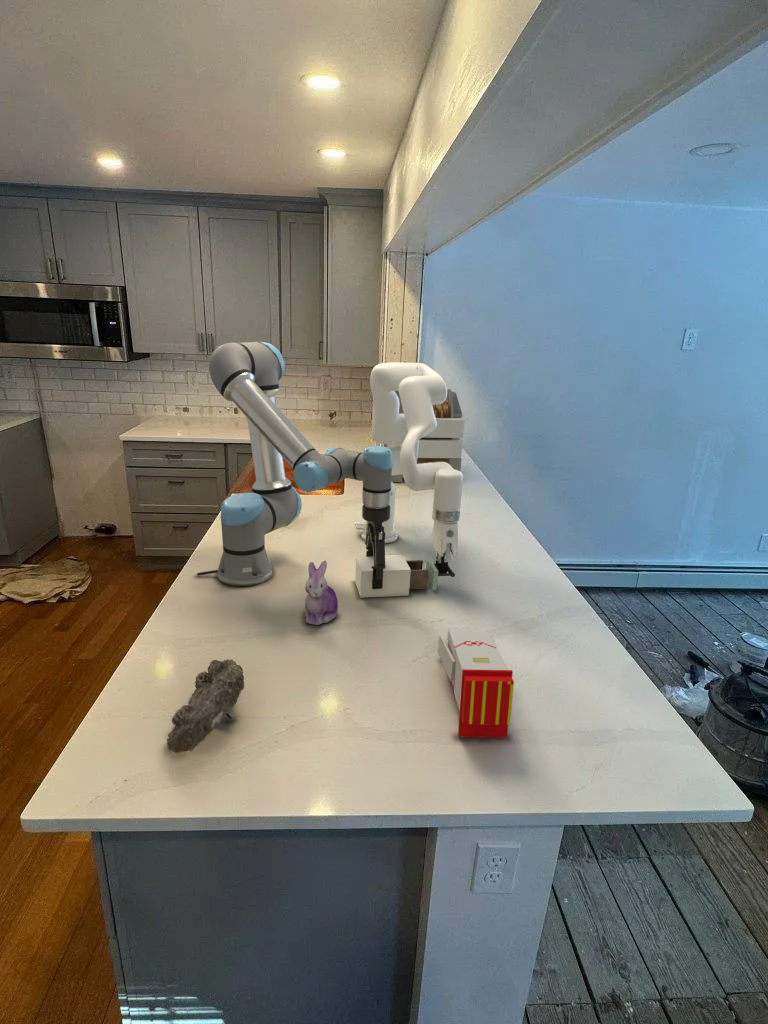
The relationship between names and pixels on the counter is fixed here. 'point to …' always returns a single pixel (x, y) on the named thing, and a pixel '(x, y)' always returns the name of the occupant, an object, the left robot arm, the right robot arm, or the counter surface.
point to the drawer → (425, 574)
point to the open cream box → (393, 577)
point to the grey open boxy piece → (440, 435)
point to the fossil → (206, 705)
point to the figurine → (319, 597)
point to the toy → (478, 682)
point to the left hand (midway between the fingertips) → (373, 579)
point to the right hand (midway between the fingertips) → (440, 573)
